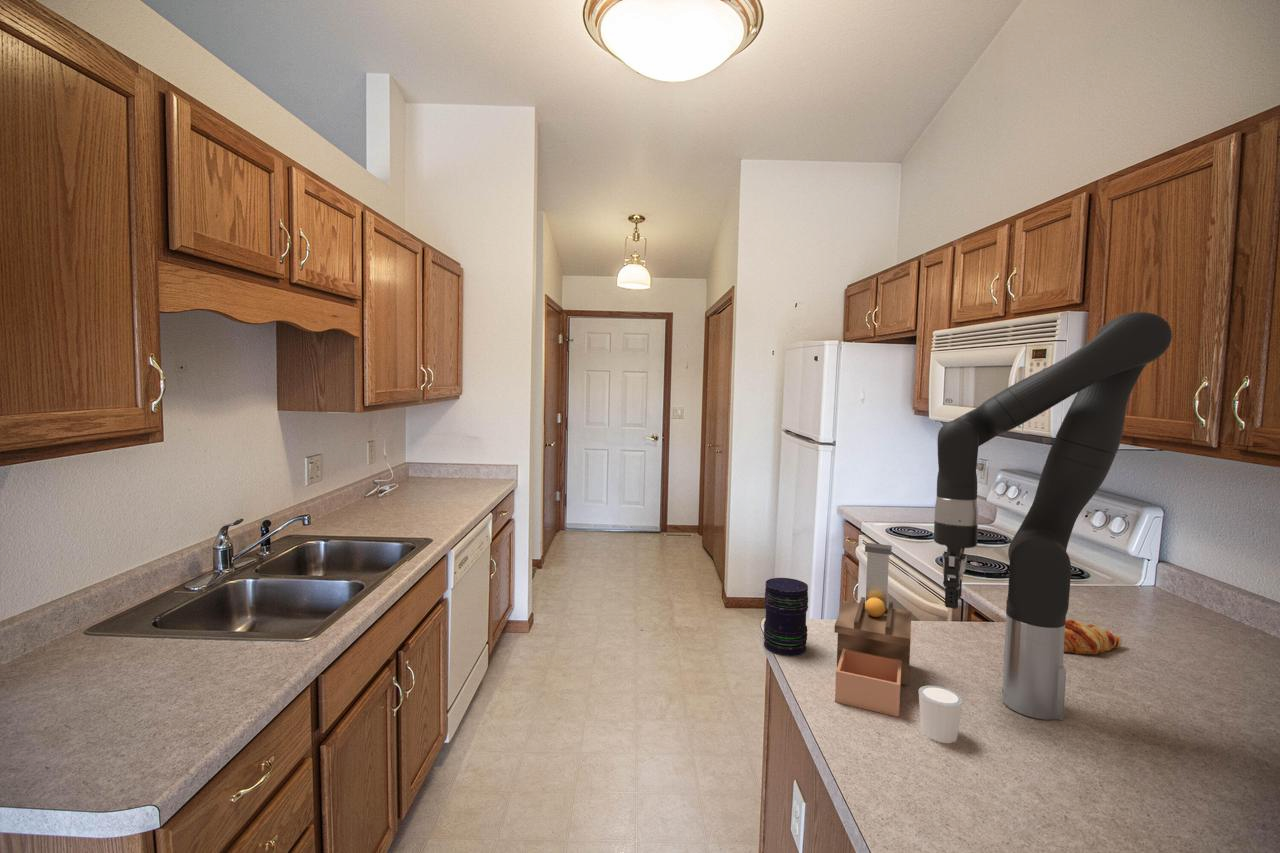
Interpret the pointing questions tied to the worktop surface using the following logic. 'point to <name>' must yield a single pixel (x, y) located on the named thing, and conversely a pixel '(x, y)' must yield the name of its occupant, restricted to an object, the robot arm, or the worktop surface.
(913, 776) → the worktop surface
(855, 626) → the shelf
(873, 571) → the grey metal tall block
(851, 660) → the orange open drawer
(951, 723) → the white cylinder
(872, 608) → the ball
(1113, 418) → the robot arm
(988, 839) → the worktop surface
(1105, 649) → the croissant
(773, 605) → the dark blue ribbed barrel
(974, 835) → the worktop surface
